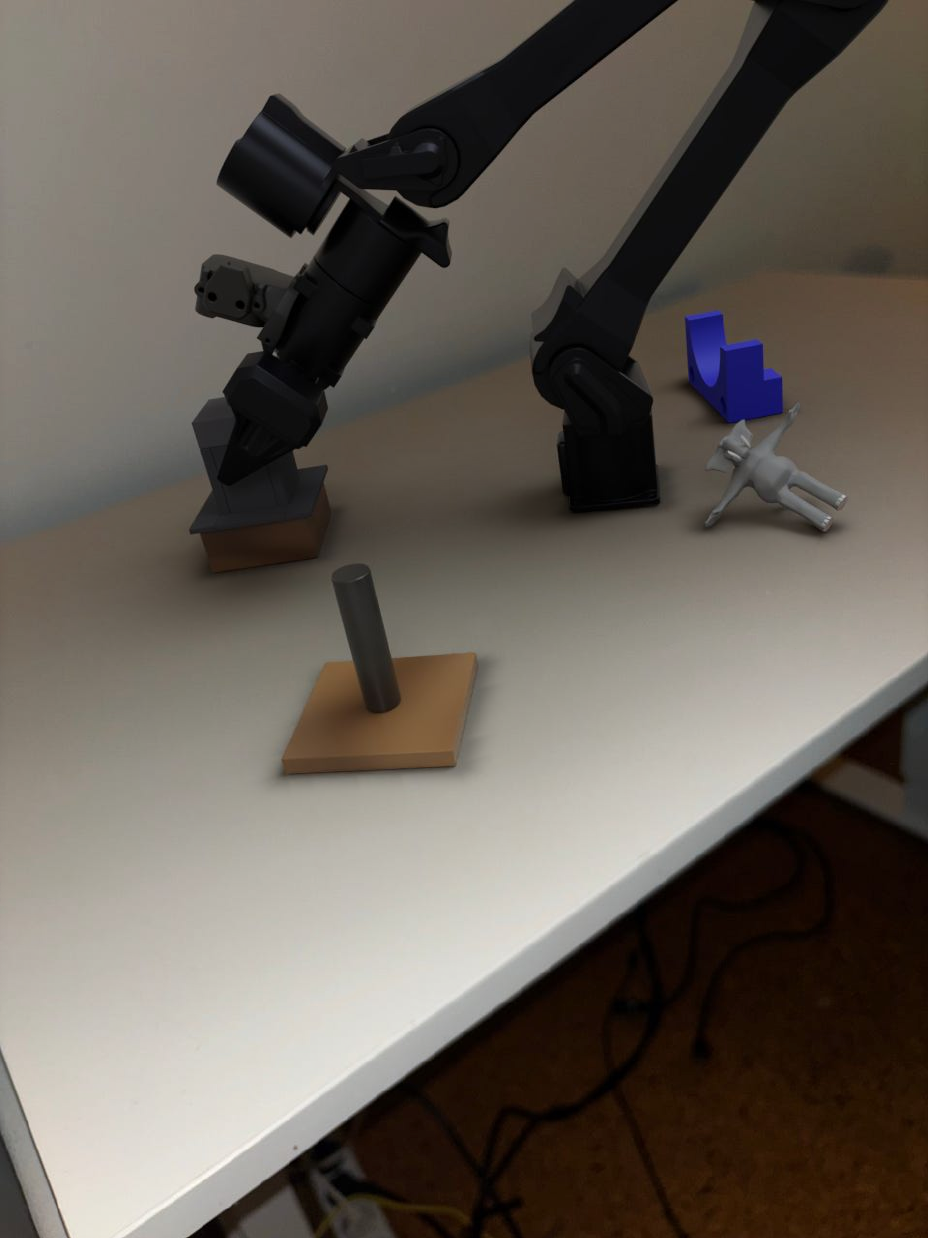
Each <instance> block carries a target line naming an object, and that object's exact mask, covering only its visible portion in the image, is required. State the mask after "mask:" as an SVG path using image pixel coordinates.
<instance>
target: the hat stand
mask: <svg viewBox="0 0 928 1238" xmlns="http://www.w3.org/2000/svg"><path fill="white" fill-rule="evenodd" d="M373 579H374V578H373V575H372V571H371V567H370V566H369V565H367V564H365V563H350V564H346V565H343V566H341V567H338V568H336V569H335V570H334V571H333V572H332V573H331V577H330V580H331V583H332V587H333V590H334V595H335V599H336V602H337V606H338V611H339V614H340V617H341V622H342V625H343V628H344V633H345V636H346V641H347V643H348V648H349V651H350V655H351V659H352V660H346V661H345V660H344V661H343V660H342V661H329V662H325V663H324V665H323V666H322V669H321V671H320V673H319V676H318V678H317V680H316V682H315V684H314V687H313V689H312V691H311V693H310V695H309V697H308V700H307V702H306V704H305V706H304V709H303V711H302V713H301V715H300V717H299V719H298V721H297V724H296V726H295V728H294V730H293V732H292V735H291V737H290V739H289V742H287V743H288V744H287V746H286V747H285V750H284V752H283V753H282V754H283V755H282V757H281V763H282V766H283V769H284V772H285V774H287V775H290V774H311V773H331V772H334V773H335V772H353V771H354V772H355V771H374V770H376V771H377V770H395V769H396V770H397V769H416V768H417V769H418V768H438V767H455V766H456V765H457V762H458V758H459V753H460V748H461V745H462V744H461V743H462V740H463V735H464V730H465V727H466V722H467V717H468V714H469V713H468V712H469V709H470V704H471V699H472V696H473V690H474V686H475V682H476V678H477V672H478V669H479V663H478V658H477V653H476V652H474V651H473V652H461V653H460V652H459V653H445V654H432V655H431V654H430V655H418V656H402V657H401V656H400V657H392V654H391V650H390V645H389V641H388V637H387V633H386V629H385V625H384V621H383V616H382V611H381V609H380V604H379V600H378V599H379V598H378V596H377V592H376V588H375V583H374V580H373Z"/></svg>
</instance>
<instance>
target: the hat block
mask: <svg viewBox="0 0 928 1238" xmlns="http://www.w3.org/2000/svg"><path fill="white" fill-rule="evenodd" d="M331 515H332V510H331V506H330V501H329V498H328V494H327V491H326V486H325V481H324V482H323V485H322V488H321V491H320V494H319V497H318V499H317V502H316V505H315V508H314V511H313V514H312V516H310V517H303V518H297V519H290V520H283V521H277V522H270V523H264V524H257V525H250V526H244V527H237V528H230V529H224V530H217V531H211V532H204V533H199V535H200V539H201V541H202V545H203V548H204V551H205V554H206V557H207V560H208V562H209V566H210V569H211V572H212V574H215V573H223V572H228V571H229V572H230V571H234V570H241V569H242V570H243V569H248V568H255V567H262V566H269V565H275V564H283V563H289V562H290V563H291V562H295V561H304V560H310V559H317V558H318V557H319V554H320V550H321V547H322V543H323V541H324V538H325V534H326V531H327V528H328V525H329V521H330V518H331Z"/></svg>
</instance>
